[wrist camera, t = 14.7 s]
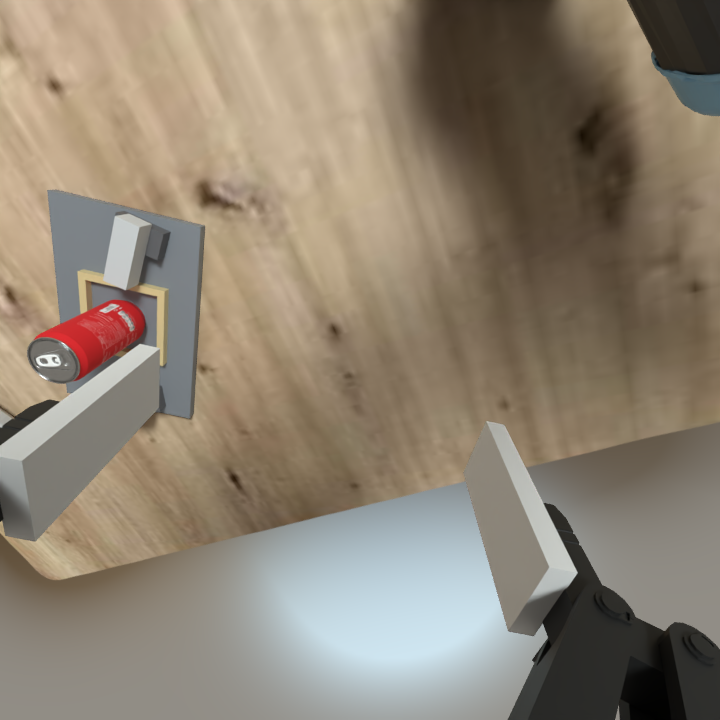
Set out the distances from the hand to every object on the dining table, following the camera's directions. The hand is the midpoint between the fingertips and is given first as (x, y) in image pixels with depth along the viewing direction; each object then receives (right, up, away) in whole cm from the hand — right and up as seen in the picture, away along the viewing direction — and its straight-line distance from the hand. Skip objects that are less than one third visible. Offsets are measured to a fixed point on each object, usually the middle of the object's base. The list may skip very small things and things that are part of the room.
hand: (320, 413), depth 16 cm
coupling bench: (-26, +8, +33) cm, 42 cm away
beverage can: (-26, +7, +32) cm, 42 cm away
